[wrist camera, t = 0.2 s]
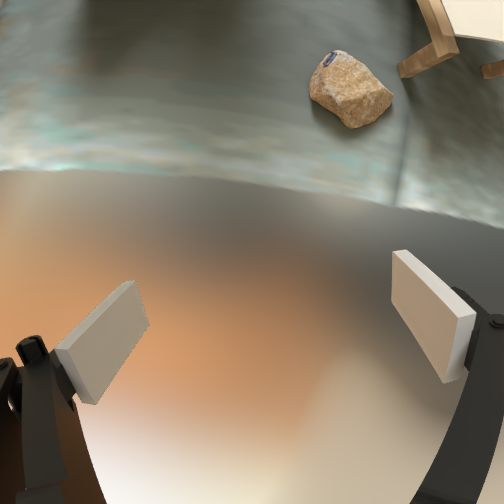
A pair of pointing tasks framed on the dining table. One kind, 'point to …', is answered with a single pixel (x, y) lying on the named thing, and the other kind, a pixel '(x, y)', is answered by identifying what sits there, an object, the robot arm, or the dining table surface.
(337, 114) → the stone
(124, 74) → the dining table surface
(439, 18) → the frame
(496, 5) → the trapdoor
